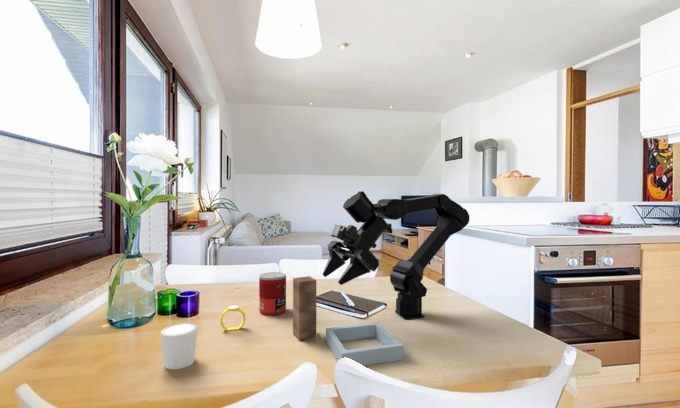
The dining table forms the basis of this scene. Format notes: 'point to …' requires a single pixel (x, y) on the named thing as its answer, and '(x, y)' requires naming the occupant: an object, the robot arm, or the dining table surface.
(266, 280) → the canned food
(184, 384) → the dining table surface
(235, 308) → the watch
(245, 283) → the dining table surface
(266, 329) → the dining table surface
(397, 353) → the frame
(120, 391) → the dining table surface
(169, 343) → the white cup
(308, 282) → the tall wooden post
